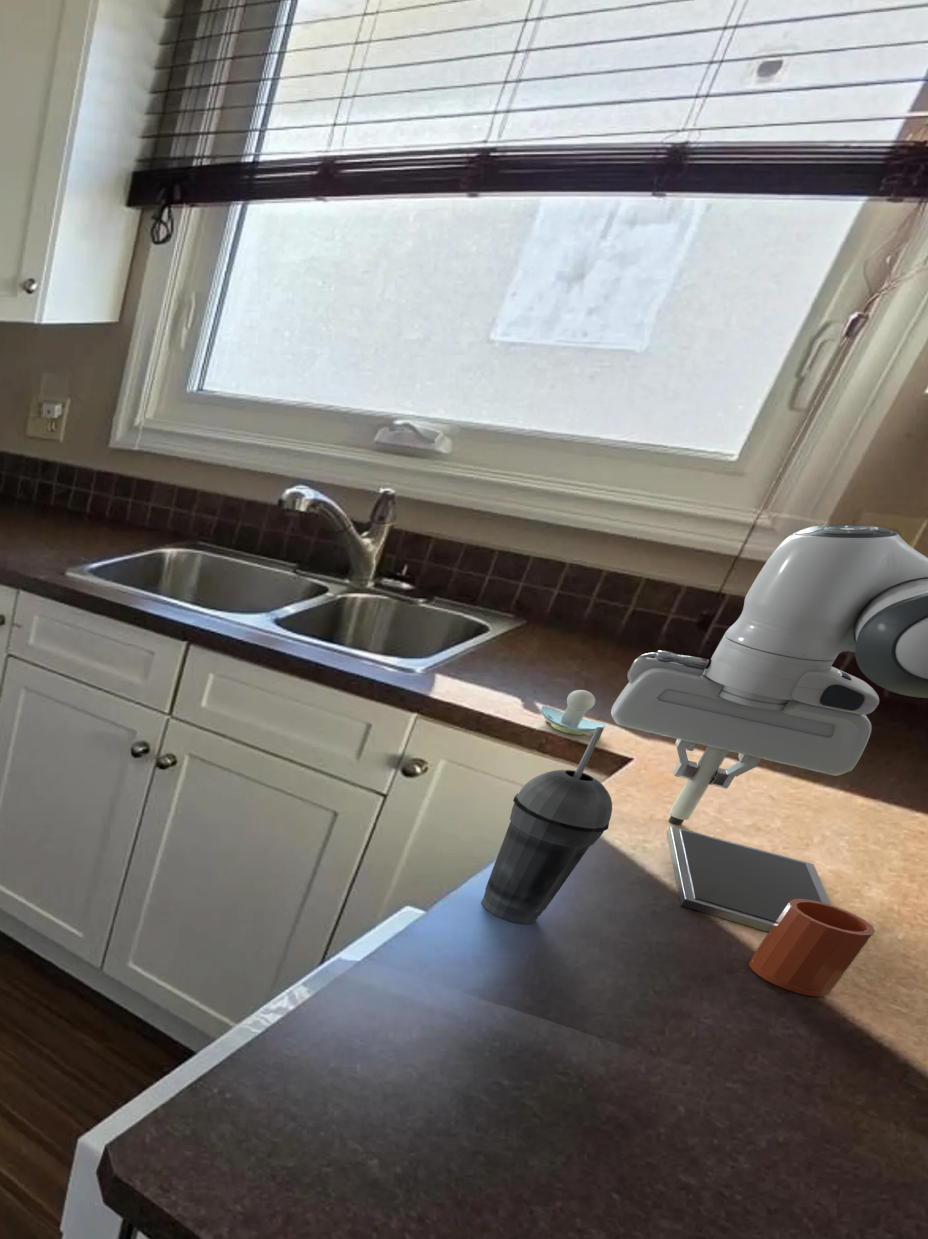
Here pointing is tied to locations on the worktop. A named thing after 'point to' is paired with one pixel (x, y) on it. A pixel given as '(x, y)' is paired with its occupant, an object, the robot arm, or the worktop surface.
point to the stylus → (697, 784)
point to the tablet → (739, 879)
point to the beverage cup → (546, 839)
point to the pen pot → (810, 947)
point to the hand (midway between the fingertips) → (699, 780)
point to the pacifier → (573, 714)
